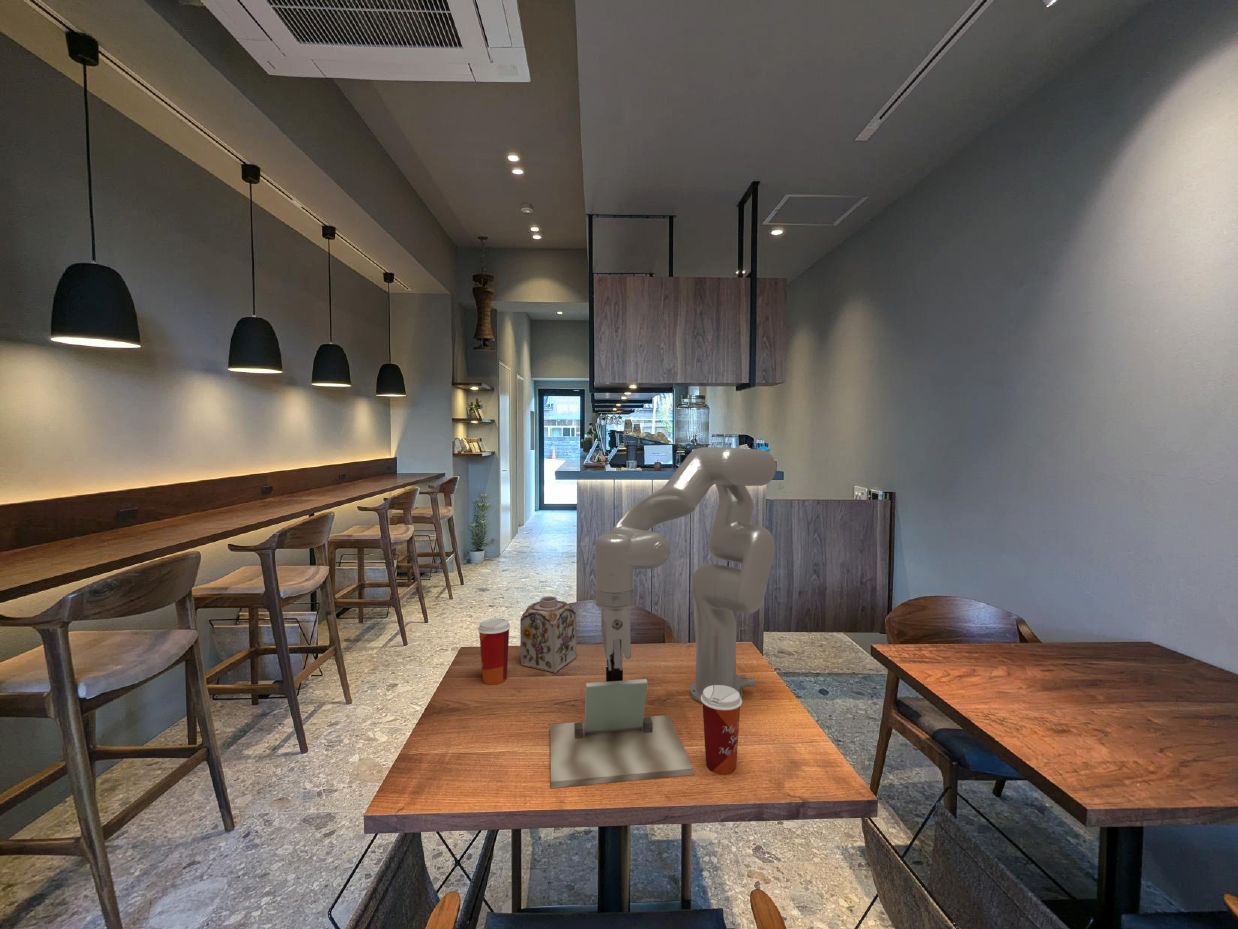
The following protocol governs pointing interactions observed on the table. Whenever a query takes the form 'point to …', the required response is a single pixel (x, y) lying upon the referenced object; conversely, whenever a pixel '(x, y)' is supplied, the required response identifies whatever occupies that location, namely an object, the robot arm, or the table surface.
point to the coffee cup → (494, 649)
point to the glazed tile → (615, 706)
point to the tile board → (616, 754)
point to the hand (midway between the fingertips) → (614, 687)
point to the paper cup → (721, 727)
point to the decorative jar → (548, 635)
